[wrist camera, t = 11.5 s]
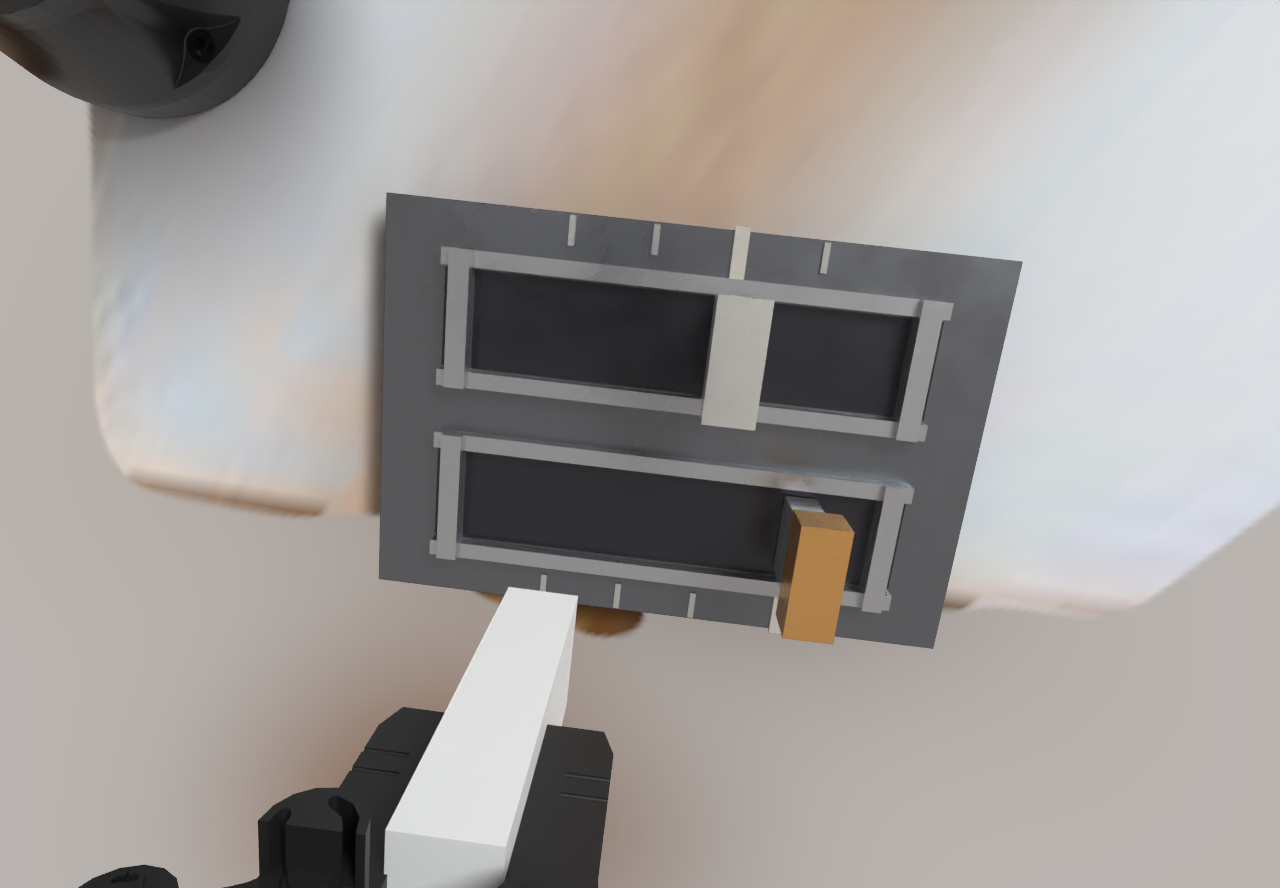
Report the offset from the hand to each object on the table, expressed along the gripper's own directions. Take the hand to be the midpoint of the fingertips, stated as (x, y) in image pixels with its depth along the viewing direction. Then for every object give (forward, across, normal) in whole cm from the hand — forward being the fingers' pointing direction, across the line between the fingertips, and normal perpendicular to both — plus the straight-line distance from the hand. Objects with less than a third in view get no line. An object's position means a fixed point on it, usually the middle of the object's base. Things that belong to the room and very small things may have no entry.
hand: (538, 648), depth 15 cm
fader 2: (+20, +10, -4) cm, 23 cm away
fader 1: (+21, +5, +5) cm, 22 cm away
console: (+23, +3, 0) cm, 23 cm away
